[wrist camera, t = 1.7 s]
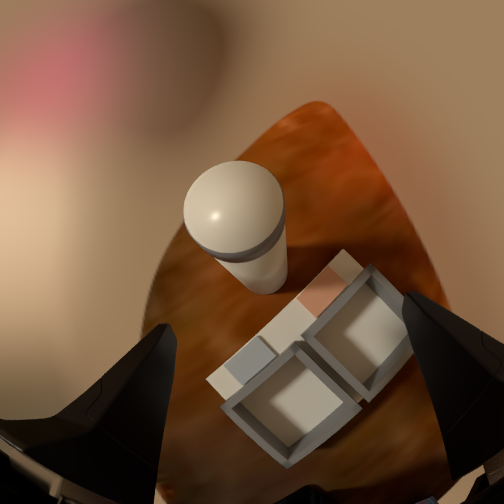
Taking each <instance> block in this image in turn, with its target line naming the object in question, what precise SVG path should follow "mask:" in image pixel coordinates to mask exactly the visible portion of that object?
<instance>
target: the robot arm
mask: <svg viewBox="0 0 504 504" xmlns="http://www.w3.org/2000/svg"><path fill="white" fill-rule="evenodd" d="M402 317H403V320H404V323H405V326H406V329H407V333H408V336H409V339H410V343H411V346H412V349H413V352H414V354H415V357H416V359H417V362H418V364H419V367H420V369H421V372H422V375H423V377H424V380H425V383H426V386H427V389H428V392H429V394H430V397H431V400H432V403H433V407H434V410H435V413H436V416H437V420H438V423H439V426H440V430H441V433H442V436H443V437H442V438H443V441H444V445H445V449H446V453H447V458H448V462H449V467H450V472H451V477H452V480H453V481H455V480H457V479H459V478H461V477H463V476H465V475H467V474H468V473H470V472H472V471H474V470H475V469H477V468H479V467H480V466H482V465H483V466H484V470H485V473H484V474H482V475H481V476H479V477H477V478H476V480H475V483H474V485H473V487H472V489H471V491H470V493H469V495H468V497H467V498H466V500H465V501H464V502H462V503H460V504H504V344H503V343H501V342H499V341H497V340H496V339H494V338H492V337H491V336H489V335H488V334H486V333H484V332H483V331H480V330H479V329H478V328H476V327H475V326H473V325H472V324H470V323H468V322H467V321H465V320H464V319H462V318H460V317H459V316H457V315H455V314H454V313H452V312H450V311H449V310H447V309H445V308H444V307H442V306H440V305H439V304H437V303H435V302H434V301H432V300H430V299H429V298H427V297H425V296H423V295H422V294H420V293H418V292H416V291H411V292H407V293H405V295H404V300H403V305H402ZM176 348H177V339H176V337H175V335H174V333H173V330H172V328H171V326H170V325H169V324H167V323H164V324H158V325H157V326H156V327H155V328H154V329H152V330H151V331H150V332H149V333H148V334H147V335H146V336H145V337H144V338H143V339H142V340H141V341H139V342H138V343H137V344H136V345H135V346H134V347H133V348H132V349H131V350H130V351H129V352H128V353H127V354H126V355H125V356H123V357H122V358H121V359H120V360H119V361H118V362H117V363H116V364H115V365H114V366H113V367H112V368H110V369H109V370H108V371H107V372H106V373H105V374H104V375H103V376H102V377H101V378H100V379H99V380H98V381H97V382H95V383H94V384H93V385H92V386H91V387H90V388H89V389H88V390H87V391H85V392H84V393H83V394H82V395H81V396H79V397H78V398H77V399H76V400H74V401H73V402H72V403H70V404H69V405H68V406H67V407H65V408H64V409H63V410H62V411H60V412H59V413H58V414H56V415H54V416H52V417H49V418H44V419H27V420H4V419H0V438H1V439H3V440H4V441H5V442H6V443H8V444H9V445H10V446H12V447H13V448H12V451H11V453H10V456H9V455H7V454H6V453H5V452H3V451H2V450H1V449H0V504H154V496H155V488H156V480H157V473H158V465H159V458H160V452H161V445H162V439H163V433H164V427H165V421H166V416H167V410H168V405H169V400H170V394H171V389H172V384H173V379H174V371H175V359H176ZM304 490H308V491H304ZM274 504H338V503H337V502H335V501H334V500H332V499H331V498H329V497H328V496H326V495H321V494H320V493H318V492H317V491H315V490H314V489H313V488H311V487H310V486H304V487H302V488H300V489H298V490H297V491H295V492H294V493H292V494H290V495H288V496H287V497H285V498H283V499H281V500H280V501H278V502H276V503H274Z"/></svg>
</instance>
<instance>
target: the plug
mask: <svg viewBox="0 0 504 504" xmlns="http://www.w3.org/2000/svg"><path fill="white" fill-rule="evenodd" d="M183 215H184V222H185V226H186V228H187V231H188V232H189V234H190V236H191V237H192V238H193V240H194V241H195V242H197V243H198V244H199V245H200V246H201V247H202V248H203V249H204V250H205V251H206V252H207V253H208V254H210V255H211V256H213V257H214V258H215V259H216V260H218V261H219V262H220V263H221V264H222V265H223V266H224V267H225V268H226V269H227V270H228V271H229V272H230V273H232V274H233V275H234V276H235V277H236V278H237V279H238V280H239V281H240V282H241V283H242V284H243V285H245V286H246V287H247V288H248V289H249V290H250V291H252V292H254V293H256V294H261V295H266V294H271V293H274V292H276V291H277V290H279V289H280V288H281V287H282V286H283V284H284V283H285V281H286V279H287V275H288V264H287V248H286V233H285V203H284V195H283V191H282V188H281V186H280V184H279V182H278V180H277V179H276V178H275V177H274V175H273V174H271V173H270V172H269V171H268V170H266V169H265V168H263V167H261V166H259V165H257V164H254V163H251V162H246V161H231V162H225V163H222V164H219V165H216V166H214V167H212V168H210V169H209V170H207V171H206V172H204V173H203V174H202V175H201V176H200V177H198V178H197V180H196V181H195V182H194V183H193V185H192V186H191V188H190V189H189V191H188V193H187V196H186V199H185V203H184V210H183Z"/></svg>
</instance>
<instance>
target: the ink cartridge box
mask: <svg viewBox="0 0 504 504" xmlns="http://www.w3.org/2000/svg"><path fill="white" fill-rule="evenodd" d="M415 504H439V503H438V502H437V501H436V500H435V499H434V497H433V496H431V497H429V498H427V499H424V500H422V501H420V502H417V503H415Z"/></svg>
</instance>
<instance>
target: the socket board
mask: <svg viewBox="0 0 504 504" xmlns="http://www.w3.org/2000/svg"><path fill="white" fill-rule="evenodd" d="M403 300H404V297H403V296H402V295H401V294H400V292H399V291H398V290H397V289H396V288H395V287H394V286H393V285H392V284H391V283H390V282H389V281H388V280H387V279H386V278H385V277H384V276H383V275H382V274H381V273H380V272H379V271H378V270H377V269H376V268H375V267H374V266H373V265H372V264H371V263H370V264H369V265H368V266H367V267H366V268H365V269H364V268H363V267H362V266H361V265H360V264H359V263H358V262H357V261H355V260H354V259H353V258H352V257H351V256H350V255H349V254H348V253H347V252H346V251H345V250H344V249H342V250H341V251H340V252H339V253H338V254H337V256H336V257H335V258H334V259H333V260H332V261H331V262H330V263H329V264H328V265H327V266H326V267H325V268H324V269H323V270H322V271H321V272H320V273H319V274H318V275H317V276H316V277H315V278H314V279H313V280H312V281H311V282H310V283H309V284H308V285H307V286H306V287H305V288H304V289H303V290H302V291H301V292H300V293H299V294H298V295H297V296H296V297H295V298H294V299H293V300H292V301H291V302H290V303H289V304H288V305H287V306H286V307H285V308H284V309H283V310H282V311H281V312H280V313H279V314H278V315H277V316H276V317H275V318H274V319H273V320H272V321H270V322H269V323H268V324H267V325H266V326H265V327H264V328H263V329H262V330H261V331H260V332H259V333H258V334H256V335H255V336H254V337H253V338H252V339H251V340H250V341H249V342H248V343H247V344H245V345H244V346H243V347H242V348H241V349H240V350H239V351H238V352H237V353H235V354H234V355H233V356H232V357H231V358H230V359H229V360H227V361H226V362H225V363H224V364H223V365H222V366H221V367H219V368H218V369H217V370H216V371H215V372H214V373H212V374H211V375H210V376H209V377H208V378H206V380H207V381H208V382H209V383H210V384H211V385H212V386H213V387H214V388H215V389H216V390H217V392H218V393H219V394H220V395H221V396H222V397H223V398H224V399H225V400H226V401H225V402H224V403H223V404H222V405H221V406H220V408H221V409H222V410H223V411H224V412H225V413H226V414H227V415H228V416H229V417H230V418H231V419H232V420H233V421H234V422H235V423H236V424H237V425H238V426H239V427H240V428H241V429H242V430H243V431H244V432H245V433H246V434H247V435H248V436H250V437H251V438H252V439H253V440H254V441H255V442H256V443H257V444H258V445H259V446H261V447H262V448H263V449H264V450H265V451H266V452H267V453H268V454H270V455H271V456H272V457H273V458H274V459H275V460H277V461H278V462H279V463H280V464H281V465H283V466H284V467H285V468H286V469H288V468H289V467H291V466H292V465H293V464H295V463H296V462H298V461H299V460H301V459H302V458H303V457H305V456H306V455H308V454H309V453H310V452H312V451H313V450H314V449H316V448H317V447H318V446H320V445H321V444H322V443H323V442H325V441H326V440H327V439H328V438H330V437H331V436H332V435H333V434H334V433H336V432H337V431H338V430H339V429H340V428H342V427H343V426H344V425H345V424H346V423H347V422H348V421H350V420H351V419H352V418H353V417H354V416H355V415H356V414H357V413H358V412H359V411H360V410H361V409H362V408H361V406H360V405H359V404H358V403H359V402H360V401H361V400H362V399H363V398H364V399H365V400H366V401H367V402H368V403H369V402H370V401H371V400H372V399H373V398H374V397H375V396H376V395H377V394H378V393H379V392H380V391H381V390H382V389H383V388H384V386H385V385H386V384H387V383H388V382H389V381H390V380H391V379H392V378H393V377H394V376H395V374H396V373H397V372H398V371H399V370H400V369H401V368H402V366H403V365H404V364H405V363H406V362H407V361H408V359H409V358H410V357H411V356H412V354H413V353H414V352H413V349H412V346H411V343H410V339H409V336H408V333H407V329H406V326H405V323H404V320H403V317H402V305H403Z"/></svg>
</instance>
